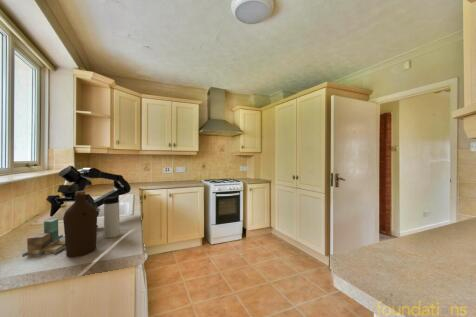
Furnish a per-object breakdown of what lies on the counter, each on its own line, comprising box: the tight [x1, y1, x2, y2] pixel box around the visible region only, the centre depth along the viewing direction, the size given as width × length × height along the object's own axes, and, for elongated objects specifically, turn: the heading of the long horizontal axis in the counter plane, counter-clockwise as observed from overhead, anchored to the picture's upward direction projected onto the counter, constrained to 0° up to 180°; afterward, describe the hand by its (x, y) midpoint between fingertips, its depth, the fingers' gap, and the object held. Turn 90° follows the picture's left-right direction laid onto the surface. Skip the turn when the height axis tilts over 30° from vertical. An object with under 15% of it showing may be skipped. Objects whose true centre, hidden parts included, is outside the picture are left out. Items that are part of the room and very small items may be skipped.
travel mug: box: [103, 194, 121, 239], centre depth 97 cm, size 6×7×20 cm
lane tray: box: [21, 234, 66, 257], centre depth 87 cm, size 12×19×2 cm, turn 4°
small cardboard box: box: [45, 245, 63, 254], centre depth 81 cm, size 4×4×2 cm
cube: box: [26, 232, 51, 252], centre depth 81 cm, size 5×5×5 cm
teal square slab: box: [28, 218, 60, 254], centre depth 83 cm, size 4×10×10 cm, turn 4°
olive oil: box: [62, 190, 98, 259], centre depth 80 cm, size 11×11×25 cm
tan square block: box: [56, 240, 65, 247], centre depth 86 cm, size 4×4×2 cm
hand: (61, 215), depth 93 cm, fingers open, 9 cm apart
